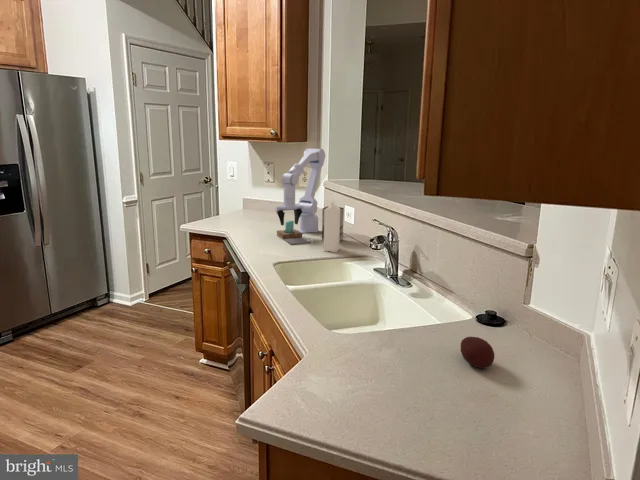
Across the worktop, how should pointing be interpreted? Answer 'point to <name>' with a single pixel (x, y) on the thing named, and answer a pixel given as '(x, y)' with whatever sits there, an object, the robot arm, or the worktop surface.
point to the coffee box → (340, 223)
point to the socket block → (289, 234)
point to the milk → (331, 228)
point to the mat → (296, 241)
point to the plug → (289, 226)
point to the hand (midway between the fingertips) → (289, 224)
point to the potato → (477, 352)
